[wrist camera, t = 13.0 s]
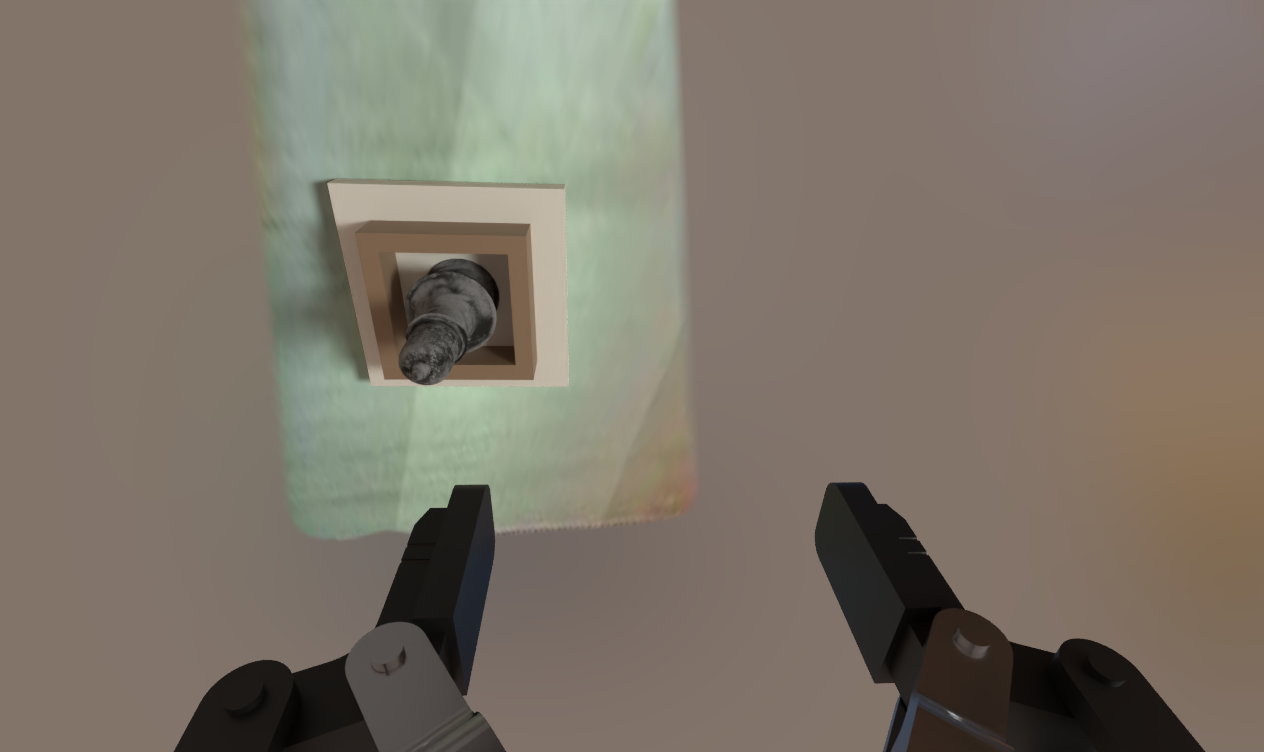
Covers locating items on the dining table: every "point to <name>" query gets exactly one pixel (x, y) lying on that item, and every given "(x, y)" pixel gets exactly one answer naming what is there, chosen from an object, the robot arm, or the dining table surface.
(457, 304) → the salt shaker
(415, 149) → the dining table surface
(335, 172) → the dining table surface
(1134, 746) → the robot arm
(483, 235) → the shaker stand
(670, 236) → the dining table surface
